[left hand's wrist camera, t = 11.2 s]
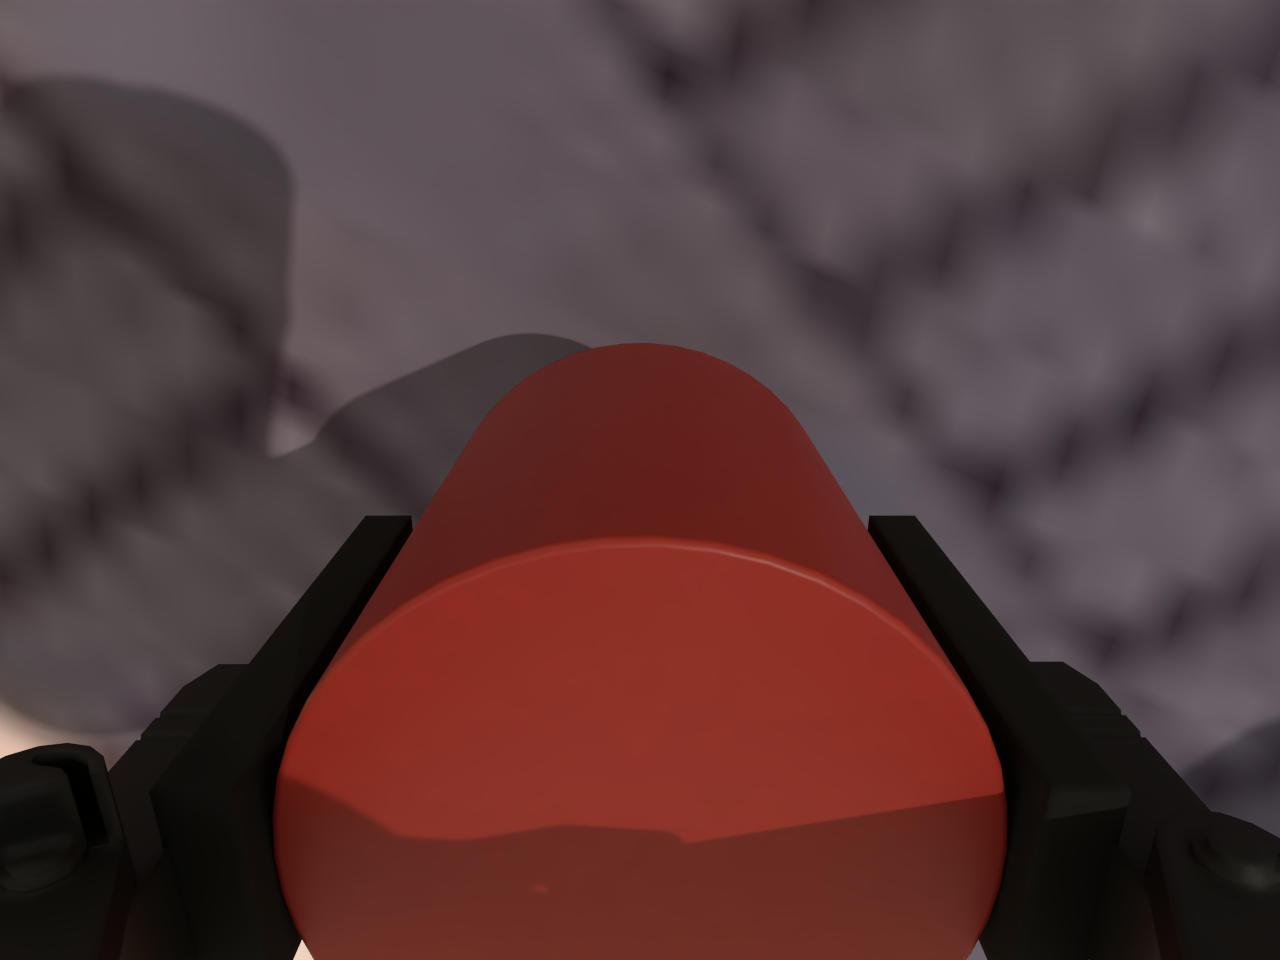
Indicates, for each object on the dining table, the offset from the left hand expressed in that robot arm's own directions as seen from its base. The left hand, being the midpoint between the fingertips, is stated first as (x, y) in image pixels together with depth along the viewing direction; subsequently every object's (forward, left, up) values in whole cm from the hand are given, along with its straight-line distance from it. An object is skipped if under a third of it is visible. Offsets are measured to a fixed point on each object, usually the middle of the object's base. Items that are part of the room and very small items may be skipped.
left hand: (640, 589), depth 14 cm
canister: (0, 0, -3) cm, 3 cm away
